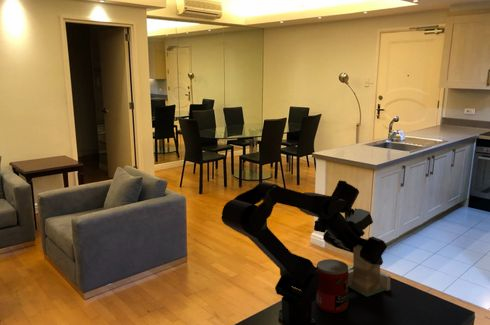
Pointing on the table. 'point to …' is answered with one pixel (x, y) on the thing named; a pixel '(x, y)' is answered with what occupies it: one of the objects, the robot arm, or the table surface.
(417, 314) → the table surface
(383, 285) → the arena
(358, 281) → the maple block
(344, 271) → the canned food
